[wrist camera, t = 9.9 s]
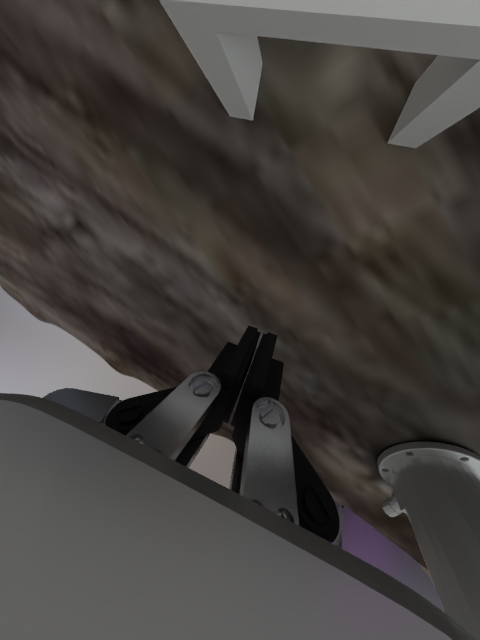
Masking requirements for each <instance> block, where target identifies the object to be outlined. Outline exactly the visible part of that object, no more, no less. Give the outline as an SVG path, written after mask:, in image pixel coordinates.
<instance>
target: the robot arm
mask: <svg viewBox="0 0 480 640" xmlns="http://www.w3.org/2000/svg"><path fill="white" fill-rule="evenodd" d="M257 330H258V329H257V328H254V327H251V326H248V328H247V329H246V331H245V333H244V335H243V336H242V338H241V340H240V342H239V343H238V345H235V344H232V343H230V342H228V343H227V344H226V345H225V347H224V348H223V350H222V351H221V353H220V354H219V356H218V357H217V359H216V360H215V362H214V363H213V364H212V366H211V367H210V369H209V370H208V372H205V371H201V372H196V373H193V374H192V375H190V376H189V377H188V378H187V379H186V380H184V381H183V382H182V383H181V384H180V385H179V386H178V387H174V388H170V389H166V390H162V391H158V392H153V393H150V394H145V395H141V396H137V397H133V398H129V399H126V400H123V401H122V400H119V397H115V396H110V395H104V394H99V393H93V392H89V391H83V390H78V389H73V388H71V389H70V388H65V389H60V390H57V391H54V392H52V393H49V394H48V395H46V396H45V397H43V398H40V397H35V396H30V395H22V394H6V393H5V394H4V393H0V640H480V456H478V455H476V454H475V453H473V452H471V451H469V450H466V449H464V448H461V447H457V446H454V445H450V444H445V443H439V442H409V443H403V444H399V445H395V446H393V447H390V448H388V449H387V450H385V451H383V452H382V453H381V454H380V455H379V457H378V459H377V466H378V470H379V473H380V475H381V477H382V478H383V479H384V480H385V481H386V482H387V483H389V484H390V485H391V486H392V488H393V492H392V497H389V498H387V499H385V500H383V501H382V503H381V505H382V508H383V510H384V511H385V513H386V514H387V515H389V516H390V517H395V516H397V515H399V514H401V513H402V512H404V513H406V514H407V516H408V518H409V521H410V523H411V526H412V528H413V531H414V534H415V536H416V539H417V541H418V544H419V547H420V549H421V552H422V555H423V557H424V560H425V562H426V565H427V568H428V570H429V573H430V575H431V578H432V581H433V583H434V585H433V583H432V581H431V580H430V578H429V577H428V576H427V574H426V573H425V572H424V570H423V569H422V567H421V566H420V565H419V564H418V563H417V562H416V561H415V560H414V559H413V558H412V557H411V556H410V555H408V554H407V553H406V552H405V551H403V550H402V549H401V548H399V547H398V546H397V545H395V544H394V543H393V542H391V541H390V540H389V539H387V538H386V537H385V536H383V535H382V534H381V533H379V532H378V531H377V530H376V529H374V528H373V527H372V526H370V525H369V524H368V523H366V522H365V521H364V520H362V519H361V518H360V517H358V516H357V515H356V514H354V513H353V512H352V511H350V510H349V509H348V508H347V507H345V506H344V505H343V506H342V507H340V506H339V505H338V504H336V503H335V502H334V500H333V498H332V496H331V494H330V493H329V491H328V490H327V488H326V487H325V485H324V484H323V482H322V481H321V479H320V477H319V476H318V474H317V473H316V471H315V470H314V468H313V467H312V465H311V464H310V462H309V461H308V459H307V458H306V456H305V455H304V453H303V452H302V450H301V449H300V447H299V446H298V444H297V443H296V441H295V440H294V438H293V437H292V435H291V430H290V419H289V415H288V412H287V410H286V409H285V407H284V406H283V405H282V404H281V403H280V402H278V401H279V394H280V387H281V379H282V372H283V365H284V363H283V362H281V361H278V360H275V359H273V358H272V355H273V351H274V347H275V343H276V339H277V335H274V334H271V333H269V332H268V334H264V333H263V336H262V339H261V341H260V344H259V346H258V349H257V352H256V354H255V357H254V360H253V362H252V365H251V367H250V364H251V360H252V357H253V354H254V351H255V348H256V345H257V342H258V339H259V336H260V333H261V332H258V331H257ZM249 367H250V370H249V373H248V375H247V372H248V369H249ZM246 375H247V378H246V381H245V383H244V386H243V389H242V392H241V395H240V399H239V402H238V405H237V408H236V411H235V414H234V417H233V420H232V423H231V425H232V426H234V427H235V429H234V432H233V435H232V438H233V440H234V443H235V445H236V451H235V456H234V462H233V469H232V475H231V481H230V487H229V489H228V488H226V487H224V486H222V485H220V484H218V483H216V482H214V481H212V480H210V479H208V478H206V477H205V476H203V475H200V474H199V473H197V472H195V471H193V470H191V469H189V467H190V465H191V463H192V462H193V460H194V459H195V457H196V456H197V454H198V453H199V451H200V449H201V448H202V446H203V445H204V443H205V442H206V440H207V439H208V436H209V434H210V433H213V432H215V431H218V430H219V428H221V426H222V424H223V422H225V423H228V421H229V418H230V416H231V413H232V411H233V408H234V406H235V403H236V400H237V398H238V395H239V393H240V390H241V388H242V385H243V382H244V380H245V377H246ZM434 586H435V587H434ZM435 588H436V589H435Z"/></svg>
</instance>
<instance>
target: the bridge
mask: <svg viewBox="0 0 480 640" xmlns="http://www.w3.org/2000/svg"><path fill="white" fill-rule="evenodd" d="M159 1H160V3H161V4H162V6H163V7H164V9H165V11H166V12H167V14H168V16H169V17H170V19H171V21H172V22H173V24H174V25H175V27H176V29H177V30H178V32H179V34H180V35H181V37H182V39H183V40H184V42H185V43H186V45H187V47H188V48H189V50H190V52H191V53H192V55H193V57H194V58H195V60H196V61H197V63H198V65H199V66H200V68H201V70H202V71H203V73H204V75H205V76H206V78H207V79H208V81H209V83H210V84H211V86H212V88H213V89H214V91H215V93H216V94H217V96H218V98H219V99H220V101H221V102H222V104H223V106H224V107H225V109H226V111H227V112H228V114H229V116H230V117H235V118H241V119H247V120H253V117H254V111H255V106H256V100H257V94H258V88H259V82H260V76H261V71H262V65H263V63H262V58H261V53H260V48H259V43H258V39H257V36H263V37H272V38H282V39H291V40H300V41H310V42H319V43H329V44H338V45H347V46H357V47H366V48H376V49H385V50H394V51H404V52H413V53H423V54H432V55H438V56H437V57H436V58H435V60H434V61H433V62H432V63H431V64H430V66H429V67H428V68H427V69H426V70H425V72H424V73H423V74H422V75H421V76H420V78H419V79H418V80H417V81H416V82H415V84H414V86H413V88H412V91H411V93H410V95H409V97H408V99H407V101H406V104H405V106H404V108H403V110H402V112H401V114H400V116H399V119H398V121H397V123H396V125H395V127H394V129H393V132H392V134H391V136H390V138H389V140H388V142H387V144H393V145H399V146H405V147H410V148H417V147H419V146H420V145H422V144H423V143H425V142H427V141H428V140H430V139H431V138H433V137H434V136H436V135H437V134H439V133H441V132H442V131H444V130H445V129H447V128H448V127H450V126H452V125H453V124H455V123H456V122H458V121H459V120H461V119H463V118H464V117H466V116H467V115H469V114H470V113H472V112H474V111H475V110H477V109H478V108H480V0H159Z"/></svg>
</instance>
